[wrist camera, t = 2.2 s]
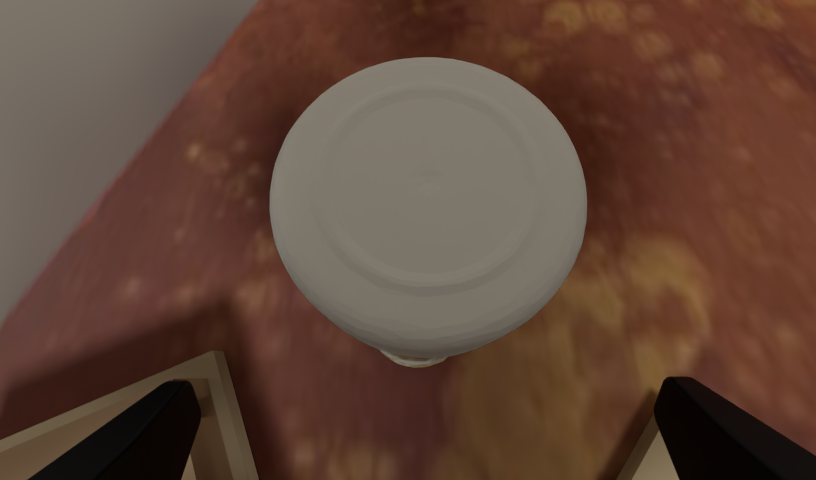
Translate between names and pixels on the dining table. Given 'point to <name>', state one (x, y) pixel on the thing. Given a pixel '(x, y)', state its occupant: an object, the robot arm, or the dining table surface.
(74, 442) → the beige wooden u-shaped tray
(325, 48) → the dining table surface
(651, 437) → the loose plank
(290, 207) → the sprinkles bottle
